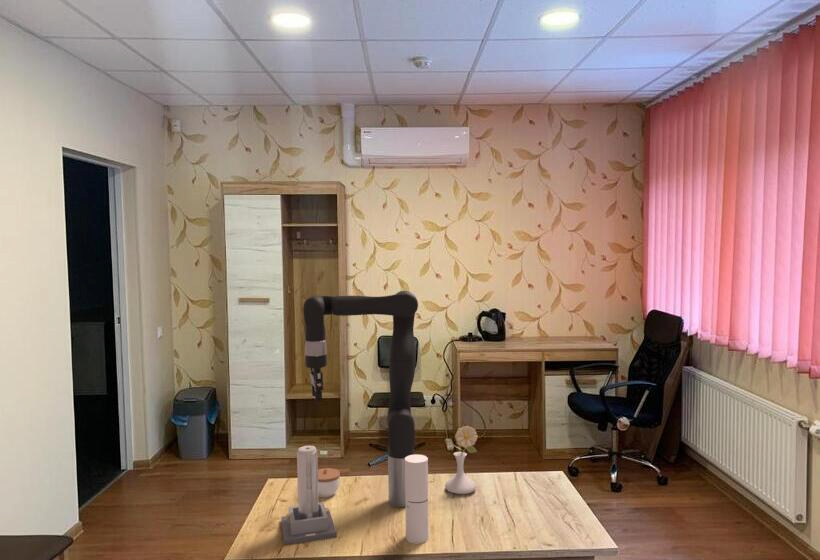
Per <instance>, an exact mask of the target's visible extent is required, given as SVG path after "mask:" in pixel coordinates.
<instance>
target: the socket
mask: <svg viewBox="0 0 820 560" xmlns="http://www.w3.org/2000/svg"><path fill="white" fill-rule="evenodd" d="M318 506H319V517H316V518H309V519H302V520H298V505H294V506H293V505H292V506H288V513H286V515H285V516H281V518H280V519H281V527H282V535H283V544H284V546H285V545H286V546H288V545H291V544H299V543H306V542H312V541H313V542H314V541H319V540H325V539H326V540H327V539H331V538H337V529H336V526H335V523H334V520H333V518H332V513H331V511H330V510H329V509H330V508H329V507H326V506H325V504H324V502H318Z"/></svg>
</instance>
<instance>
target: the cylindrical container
mask: <svg viewBox="0 0 820 560" xmlns="http://www.w3.org/2000/svg"><path fill="white" fill-rule="evenodd" d="M404 508H405V540H406V541H407V542H409V543H411V544H423V543H426V542H428V540H429V539H430V536H429V535H430V531H429V529H430V528H429V527H430V526H429V524H430V523H429V515H430V514H429V457H427V455H424V454H414V455H409V456H407V457H405V507H404Z"/></svg>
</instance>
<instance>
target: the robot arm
mask: <svg viewBox="0 0 820 560" xmlns="http://www.w3.org/2000/svg"><path fill="white" fill-rule="evenodd" d="M418 307H419V301H418V299H417V297H416V295H414V294H413V292H411V291H408V290H400V291H397V292H396V293H395V294H391V295H384V296H381V295H380V296H368V295H336V296H333V295H312V296H310V297H308V298H307V299H306V300H304V302H303V308H302V309H303V320H304V325H305V328H304V329H305V330H304V331H305V332H304V333H305V335H304V336H305V337H304V338H305V339H304V340H305V341H304V342H305V343H304V362H305V363H304V365H305V367H306V368H308V369H310V372H309V375H310V377H309V379H310V380H309V381H310V384H311V395H312V397H315V398H314V399H315V403H321V402H323V391H324V379H323V378H324V373H323V371H322V368H325V367H327V366H328V358H327V357H328V354H327V351H328V349H327V341H326V340H327V339H326V338H327V336H326V326H325V321H324V319H325V316H327V315H328V316H333V315H334V316H338V317H339V316H342V317H344V316H345V317H346V316H348V317H349V316H367V315H382V316H383V315H384V316H392V325H393V327H392V335H391V340H390V349H389V363H388V364H389V365H388V373H389V375H388V377H389V379H388V381H389V390H390V391H389V392H390V393H389V403H388V409H387V411H388V412H387V416H386V423H387V428H388V429H387V431H388V437H387V439H388V446H387V462H388V463H387V467H388V468H387V469H388V470H387V472H388V474H387V475H388V476H387V478H388V479H387V481H388V504H389V505H390V506H393V507H396V508H405V457H407V456H409V455H415V445H416V444H415V440H416V439H415V437H416V435H415V434H416V429H415V428H416V426H415V420H414V418H413V416H412V410H411V409H412V408H411V393H412V392H411V391H412V388H413V383H414V379H415V372H416V343H415V336H414V326H415V317H416V313H417V311H418Z"/></svg>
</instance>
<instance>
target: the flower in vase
mask: <svg viewBox="0 0 820 560" xmlns="http://www.w3.org/2000/svg"><path fill="white" fill-rule="evenodd" d="M478 437H479V435H478V433H477V432H476V429H475V428H473V427H471V426H468V425H465V426H461V427H459V428H458V429H457V431H456V433H455V436H454V438H455V441H456V444H457V445H458V446H460V447H462V448H464V449H462V448H460V447H458V446H456V445H455V444H453V446H454V447H455V448H457V449H459V450H460V451H456V452H454V453H453V456H454V457H455V460H456V465H457V467H456V473H455V474H454V475H453V476H452V477H450V478H449V479H448V480H447V481H446V482H445V485H444V487H445V489H446V490H447V491H448V492H450V493H453V494H458V495H465V494H470V493H473V491H475V490H476V488H477V485H476V483H475V482H474V481H473V479H471V478H470V477H469V476H467V475H466V474H465V471H464V465H465V464H464V462H465V459H466V456H467V455H468V453H469V454H473V453H477V452H478V451H477V449H476V447H474V445H475V444H476V442H477V440H478ZM465 450H466V451H467V452H468V453H466V452H465Z"/></svg>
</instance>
